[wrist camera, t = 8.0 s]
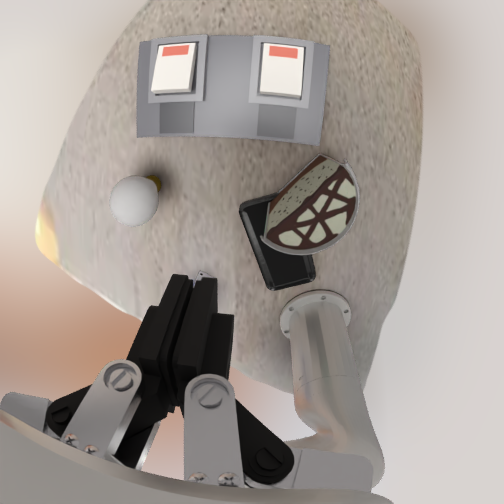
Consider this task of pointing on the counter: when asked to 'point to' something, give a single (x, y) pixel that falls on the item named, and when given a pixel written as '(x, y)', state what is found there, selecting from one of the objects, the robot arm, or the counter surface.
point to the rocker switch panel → (233, 92)
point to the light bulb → (135, 200)
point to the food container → (313, 208)
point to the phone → (273, 250)
